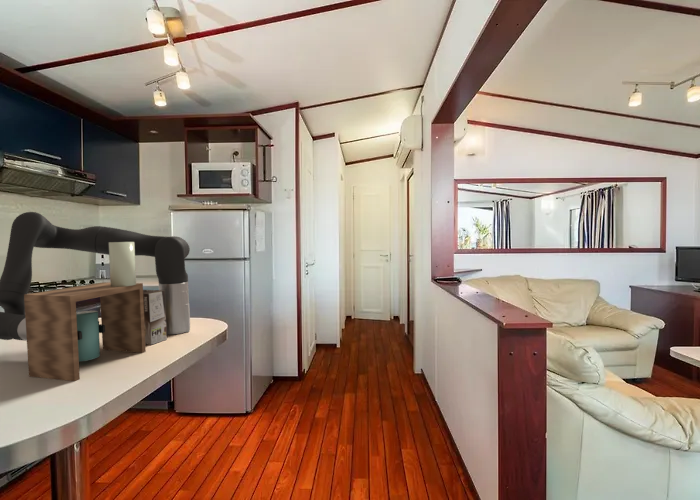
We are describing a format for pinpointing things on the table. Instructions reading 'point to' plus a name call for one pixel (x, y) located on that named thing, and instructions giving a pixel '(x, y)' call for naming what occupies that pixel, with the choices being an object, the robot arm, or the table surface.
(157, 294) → the coffee box
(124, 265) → the pale green cylinder
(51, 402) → the table surface
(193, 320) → the table surface
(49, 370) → the stand
